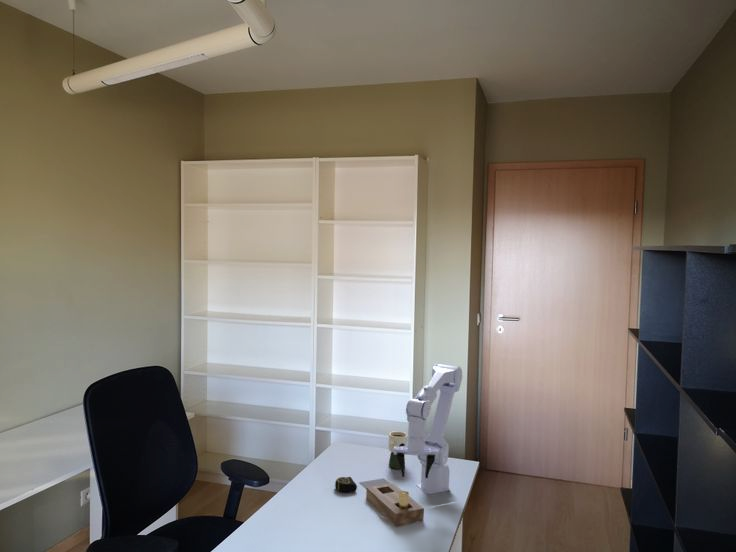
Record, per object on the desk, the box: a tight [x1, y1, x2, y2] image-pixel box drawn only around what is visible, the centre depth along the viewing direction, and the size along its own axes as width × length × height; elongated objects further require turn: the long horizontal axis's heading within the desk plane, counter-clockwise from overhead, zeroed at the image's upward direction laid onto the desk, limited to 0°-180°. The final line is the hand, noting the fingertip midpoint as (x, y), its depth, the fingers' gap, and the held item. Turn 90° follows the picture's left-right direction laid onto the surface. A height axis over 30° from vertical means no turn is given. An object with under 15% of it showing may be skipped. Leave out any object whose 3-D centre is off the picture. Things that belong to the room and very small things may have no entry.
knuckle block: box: [365, 482, 425, 528], centre depth 187 cm, size 10×20×4 cm, turn 27°
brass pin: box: [399, 490, 410, 510], centre depth 181 cm, size 3×3×8 cm
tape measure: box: [334, 476, 358, 494], centre depth 200 cm, size 7×7×4 cm
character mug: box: [388, 430, 408, 470], centre depth 221 cm, size 11×7×13 cm, turn 144°
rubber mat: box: [358, 477, 390, 491], centre depth 203 cm, size 10×10×1 cm
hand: (414, 476), depth 191 cm, fingers open, 7 cm apart
